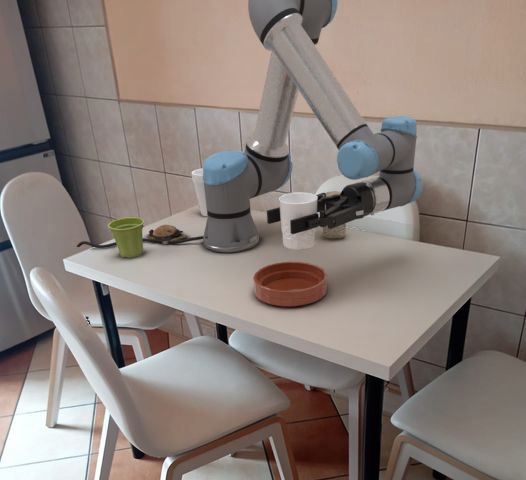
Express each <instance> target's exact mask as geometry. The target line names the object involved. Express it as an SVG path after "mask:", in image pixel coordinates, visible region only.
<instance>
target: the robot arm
mask: <svg viewBox="0 0 526 480" xmlns="http://www.w3.org/2000/svg"><path fill="white" fill-rule="evenodd" d="M247 6H248V7H247V9H248V16H249V20H250V23H251V26H252V28H253V31H254V33H255V35H256V37H257V38H258V40H259V42H260V43H261V44H262V46H263V48H264V49H265V50H266V51H269V52H270V53H271V54H270V58H269V62H268V68H267V72H266V75H265V81H264V87H263V91H262V96H261V100H260V105H259V110H258V114H257V119H256V123H255V128H254V133H253V134H251V135H250V136H248V137H247V139H246V143H245V148H244V151H242V150H239V149H231V150H225V151H219V152H216V153H214V154H212V155H210V156H208V157H207V158H205V160H204V161H203V164H202V168H203V181H204V189H205V197H206V207H207V216H206V217H207V218H206V222H205V227H204V231H203V235H199V236H194V237H193V236H192V237H186V238H183V239H181V240H176V241H169V240H165V241H166V242H168V244H167V245H175V244H177V245H178V244H184V243H189V242H194V241H201V240H203V241H202V243H203V247H204V248H205V249H206V250H208V251H211V252H216V253H225V254H226V253H228V254H229V253H238V252H239V253H240V252H244V251H248V250H250V249H252V248H254V247H257V246H258V244H259V242H260V234H259V230H258V228H257V225H256V223H255V220H254V218H253V216H252V213H251V212H252V211H251V199H254V198H256V197H259V196H263V195H265V194H268V193H272V192H274V191H277V190H278V189H280V188H282V187H283V186H285V185H286V184H287V183H288V182H289V180H290V179H291V176H292V173H293V162H292V161H291V159H292V156H291V154H290V147H289V145H288V144H287V138H288V134H289V130H290V126H291V122H292V119H293V114H294V111H295V107H296V104H297V99H298V95H299V93H300V94H301V96H302V98H303V99H304V100H305V101H306V103H307V105H308V106H309V108H310V109H311V111H312V112H313V114H314V115H315V117H316V118H317V120H318V121H319V123H320V124H321V126H322V127H323V129H324V131H325V132H326V134H327V135H328V136H329V138H330V139H331V141H332V143H333V144H334V146H335V147H336V149H337V150H338V152H337V154H336V162H337V168H338V171H339V172H340V174H342V176H343V177H345V178H347V179H348V180H353V181H357V180H361V179H364V178H365V180H361V181H360V182H355V183H351V184H347V185H345V186H344V187H343V188H342V190H341V191H340V192H341V193H340V194H335V195H332V196H327V197H326V192H321V193H318V194H315V195H316V196H317V197H318V199H317V213H315V214H311V215H308V216H304V217H300V218H297V219H293V220H290V229H291V234H296V233H299V232H303V231H306V230H309V229H313V228H316V229H317V228H319V227H320V228H323V227H325V226H328V228H329V229H332V228H335V227H338V226H340V225H343V224H345V223H346V224H347V223H350V222H353V221H356V220H360V219H361V220H362V219H364V218H365V217H368V216H375V214H377V213H381V212H384V211H388V210H390V209H391V210H392V209H394V208H395V209H396V208H399V207H404V206H407V205H408V204H411V203H413V202H416V201H417V200H418V199H419V198H420V196H421V195H422V192H423V187H424V186H423V185H424V183H423V182H422V177H421V175H420V173H418V172H417V170H416V171H415V170H414V168H415V167H414V166H415V156H416V146H417V138H418V135H417V129H418V128H417V127H418V125H417V124H418V123H417V120H416V119H415V118H414V117H412V116H406V115H405V116H402V115H401V116H400V115H398V116H397V115H395V116H388V117H385V118H384V119H383V120H382V122H381V128H380V132H377V133H374V132H373V130H371V128H370V127H369V126H368V124H367V122H366V121H365V118H363V116H362V115H361V113H360V112H359V110H358V109H357V107H356V106H355V104H354V102H353V101H352V100H351V98H350V97H349V95H348V94H347V92H346V91H345V89H344V87H343V86H342V85H341V83H340V82H339V80H338V78H337V77H336V75H335V74H334V72H333V70H332V69H331V68H330V66H329V64H328V63H327V62H326V60H325V59H324V57H323V55H322V54H321V52H320V51H319V50H318V48H317V45H318V43H319V40H320V36H321V32H322V29H324V28H326V27H327V26H328V25H329V24H331V23H332V21H333V20H334V19H335V16H336V13H337V9H338V0H248V1H247ZM377 173H379V174H378V175H379V176H377V177H372V178H368V177H371V176H373V175H374V174H377ZM366 178H368V179H366ZM325 205H326V210H325ZM334 221H335V222H334ZM266 222H267V224H268V225H271V224H275V223H278V222H281V219H280V206H279V207H275V208H272V209H267V210H266ZM143 242H147V243H160V244H163V240H158V239H151V238H148V237H147V238H145V237H143ZM83 245H88V246H90V247H92V248H96V249H107V248H113V247H115V246H117V244H116V241H114V242H111V243H107V244H97V243H94V242H90V241H86V240H82V241H80V242H78V243H77V244H76V248H80V247H81V246H83ZM89 318H90V317H89V316H86V315H85V320H86V319H87V320H86V322H87V321H88V322H89V324H90V325H91V321H90V320H89ZM91 326H92V325H91Z"/></svg>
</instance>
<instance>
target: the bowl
mask: <svg viewBox="0 0 526 480" xmlns="http://www.w3.org/2000/svg"><path fill="white" fill-rule="evenodd" d="M252 280H253V291H254V292H253V293H254V295H255V297H256V298H257V299H258V300H260V302H263V303H266V304H268V305H271V306H272V305H273V306H278V307H299V306H306V305H309V304H312V303H315V302H317V301H319V300H320V299H323V298H324V296H326V295H327V292H328V273H327V272H326V270H325V269H324V268H322V267H320V266H319V265H317V264H313V263H311V262H304V261H283V262H275V263H272V264H268V265H265V266H263V267H261V268H260V269H258V270H257V271H256V272H255V273H254V275H253V279H252Z"/></svg>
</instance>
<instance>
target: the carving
mask: <svg viewBox="0 0 526 480" xmlns="http://www.w3.org/2000/svg"><path fill="white" fill-rule="evenodd" d="M341 192H342V191H337V190H333V191H327V192H325V193H326V197H327V196H332V195H335V194H340V193H341ZM325 210H326V205H325ZM334 222H335V221H334ZM346 225H347V223H345V224H343V225H340V226H338V227H335V228H332V229H329V228H328V226H325V227H322V235H323V237H324V238H326V239H341V238H344V237H345V235H346V230H347V226H346Z"/></svg>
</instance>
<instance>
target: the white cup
mask: <svg viewBox="0 0 526 480" xmlns="http://www.w3.org/2000/svg"><path fill="white" fill-rule="evenodd" d="M316 195H317V194H314V193H310V192H301V191H299V192H296V191H295V192H289V193H285V194H283V195H280V196H279V198H278V203H279V207H280V219H281V221H280V225H281V226H280V227H281V228H280V229H281V233H282V245H283V246H284V247H285V248H287V249H289V250H294V251H295V250H296V251H297V250H298V251H299V250H307V249H310V248H312V247H314V246H315V245H316V244H315V243H316V232H317V227H316V228H313V229H309V230H306V231H303V232H299V233H296V234H291V229H290V220H293V219H297V218H300V217H304V216H308V215H311V214H315V213H317V214H318V212H317V199H318V197H317V196H316Z"/></svg>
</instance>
